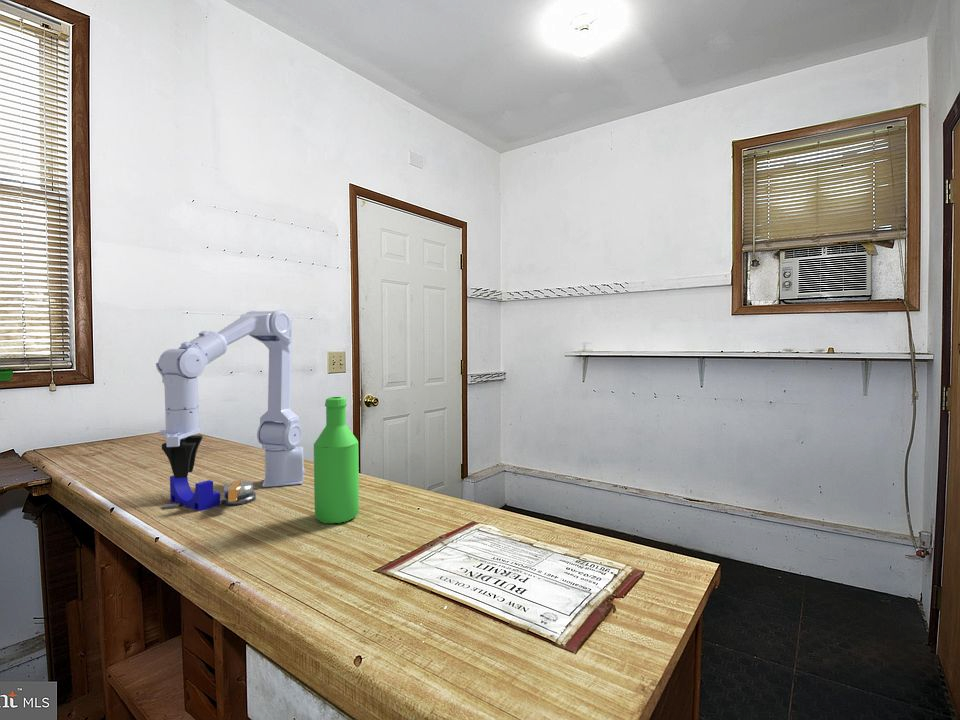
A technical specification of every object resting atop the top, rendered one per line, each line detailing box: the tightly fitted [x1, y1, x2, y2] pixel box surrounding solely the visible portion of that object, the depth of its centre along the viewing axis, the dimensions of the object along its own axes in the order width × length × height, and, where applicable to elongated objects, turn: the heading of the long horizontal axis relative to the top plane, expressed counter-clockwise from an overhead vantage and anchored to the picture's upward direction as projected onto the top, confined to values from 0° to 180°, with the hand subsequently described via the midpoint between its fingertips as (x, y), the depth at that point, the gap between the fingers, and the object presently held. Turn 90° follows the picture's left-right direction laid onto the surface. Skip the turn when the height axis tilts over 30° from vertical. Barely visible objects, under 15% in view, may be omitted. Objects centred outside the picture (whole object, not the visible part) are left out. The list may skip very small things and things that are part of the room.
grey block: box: [161, 502, 181, 510], centre depth 106 cm, size 3×2×1 cm, turn 109°
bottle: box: [313, 396, 360, 524], centre depth 99 cm, size 9×9×25 cm
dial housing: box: [221, 491, 257, 507], centre depth 110 cm, size 7×7×1 cm
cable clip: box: [169, 474, 221, 512], centre depth 108 cm, size 12×4×6 cm, turn 59°
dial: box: [223, 479, 254, 502], centre depth 108 cm, size 12×6×4 cm, turn 18°
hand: (183, 474), depth 98 cm, fingers open, 3 cm apart
